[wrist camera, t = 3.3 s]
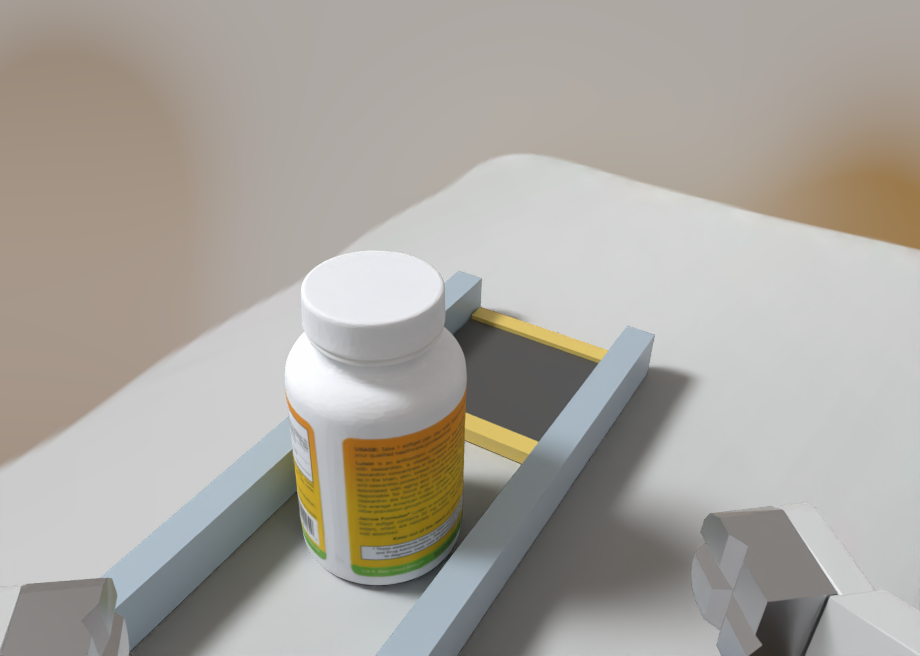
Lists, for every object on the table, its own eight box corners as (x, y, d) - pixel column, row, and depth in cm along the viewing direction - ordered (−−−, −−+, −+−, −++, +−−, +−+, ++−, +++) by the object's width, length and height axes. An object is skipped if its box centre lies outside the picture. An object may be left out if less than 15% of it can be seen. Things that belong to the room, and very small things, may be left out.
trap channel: (457, 307, 40) (459, 270, 39) (647, 372, 37) (654, 334, 35) (7, 718, 23) (-14, 674, 22) (277, 922, 19) (268, 882, 18)
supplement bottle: (488, 502, 30) (503, 265, 25) (412, 617, 26) (410, 364, 21) (358, 452, 32) (345, 221, 27) (269, 551, 28) (232, 304, 23)
